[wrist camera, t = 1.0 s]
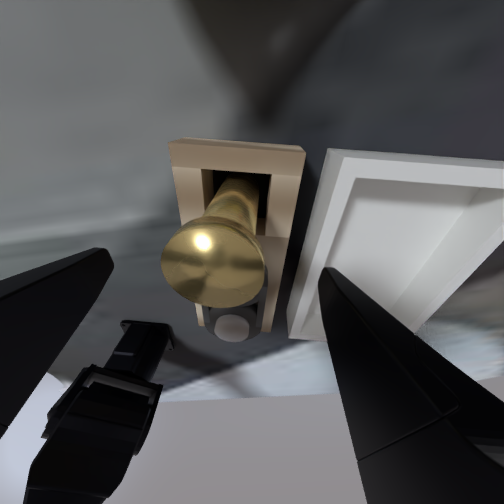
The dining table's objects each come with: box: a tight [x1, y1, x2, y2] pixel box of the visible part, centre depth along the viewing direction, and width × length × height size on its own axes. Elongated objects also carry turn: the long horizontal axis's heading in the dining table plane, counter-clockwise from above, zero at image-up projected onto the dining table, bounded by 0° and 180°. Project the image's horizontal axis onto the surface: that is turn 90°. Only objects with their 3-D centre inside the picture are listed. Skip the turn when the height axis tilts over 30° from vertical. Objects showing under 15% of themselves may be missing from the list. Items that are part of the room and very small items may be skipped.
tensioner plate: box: [168, 137, 306, 342], centre depth 17 cm, size 18×8×5 cm, turn 177°
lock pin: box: [161, 172, 265, 308], centre depth 12 cm, size 4×4×10 cm
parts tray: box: [286, 148, 504, 342], centre depth 17 cm, size 18×12×4 cm, turn 177°
